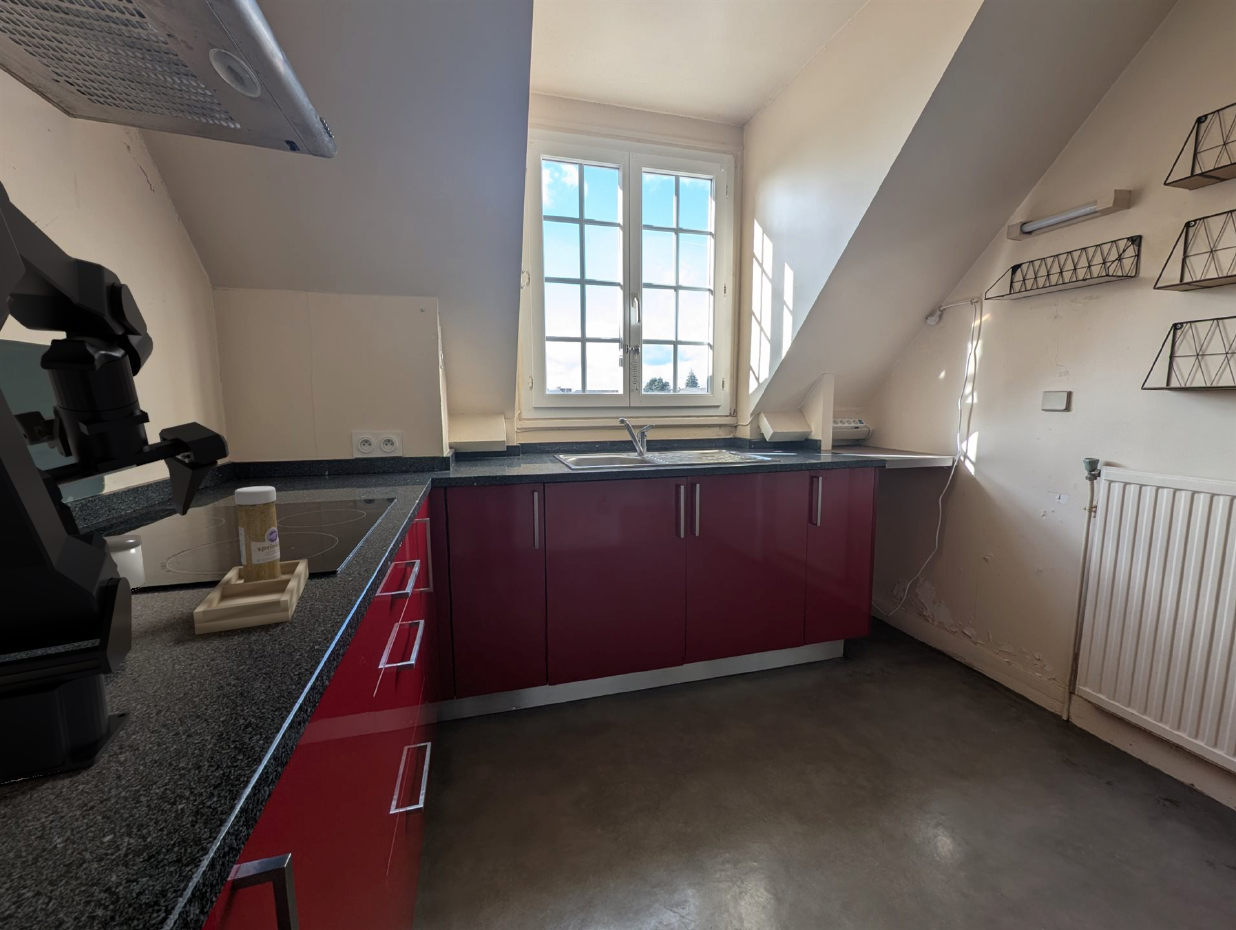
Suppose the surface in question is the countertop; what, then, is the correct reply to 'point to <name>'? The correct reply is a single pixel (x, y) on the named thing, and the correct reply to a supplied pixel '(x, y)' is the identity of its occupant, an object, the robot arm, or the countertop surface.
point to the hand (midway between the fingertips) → (134, 531)
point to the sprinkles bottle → (258, 533)
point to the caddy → (251, 599)
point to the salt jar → (127, 557)
